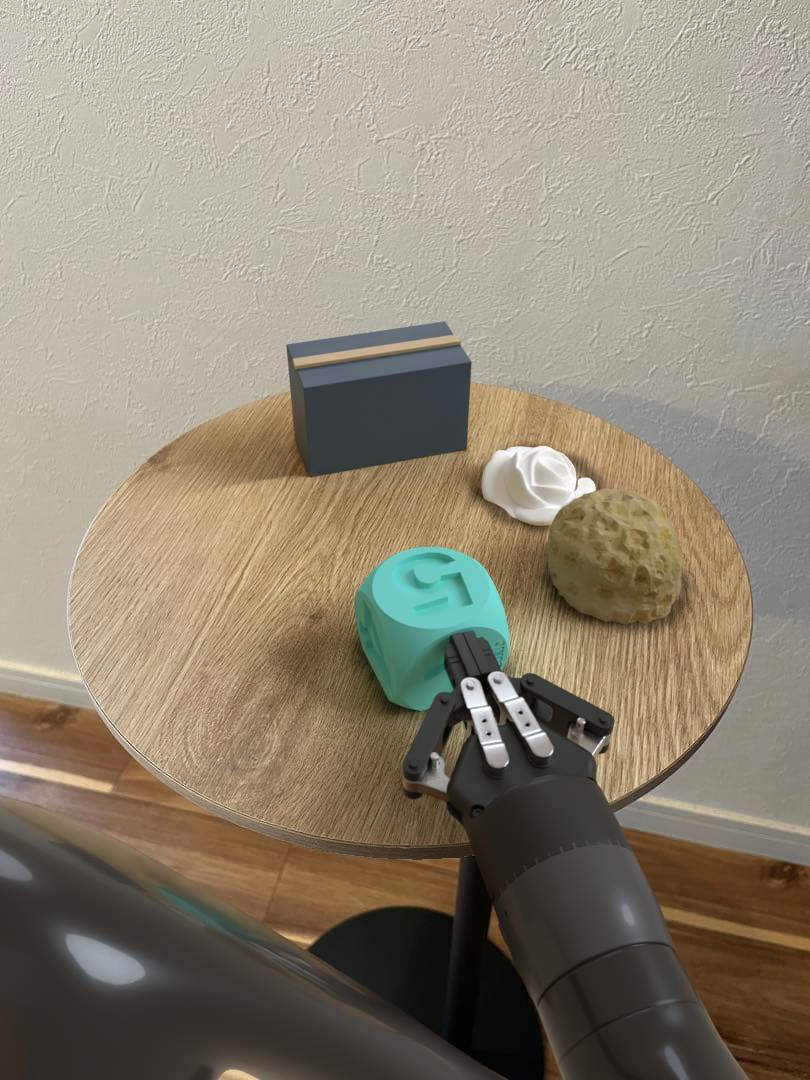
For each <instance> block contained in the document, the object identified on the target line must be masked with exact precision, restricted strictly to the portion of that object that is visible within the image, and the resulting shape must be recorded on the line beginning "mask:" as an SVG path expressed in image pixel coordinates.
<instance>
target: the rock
mask: <svg viewBox="0 0 810 1080" xmlns="http://www.w3.org/2000/svg"><path fill="white" fill-rule="evenodd" d="M684 564H685V563H684V557H683V553H682V548H681V543H680V541H679V539H678V536H677V532H676V531H675V527H674V526H673V523H672V522H671V520H670V519H669V518H668V517H667V515H666V512H665V511H664V509H663V508H662V506H661V505H660V504H659V503H658V502H656V500H654V499H653V498H650V497H648V496H647V495H646V494H644V493H641V492H639V491H634V490H628V489H615V488H614V489H611V488H606V487H605V488H602V489H596V491H593V492H591V493H586V494H583V495H582V496H581V497H579V498H575V499H574V500H572V501H571V502H570V503H569V504H568V505H566V506H564V507H562V508H561V509H560V510H559V511H558V512H557V514H556V516H555V518H554V520H553V522H552V524H551V525H550V527H549V534H548V541H547V568H548V572H549V576H550V577H551V579H552V585H553V586H554V587H555V589H557V591H558V596H561V597H562V598H564V600H565V602H566V603H567V604H568V605H569V606H570V607H571V608H574V609H575V610H576V611H577V612H579V613H580V614H582V615H583V614H584V615H588V616H592V618H593V617H594V618H596V619H598V620H600V621H602V622H605V623H608V622H615V623H618V624H624V625H625V624H627V625H628V624H630V623H632V624H633V623H637V622H638V623H640V624H647V623H651V622H653V621H656V620H661V619H664V618H666V617H667V616H668V615H669V614H670V612H671V610H672V605H674V603H675V602H678V600H680V599H679V597H680V594H681V587H682V583H683V580H682V574H683V566H684Z"/></svg>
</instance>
